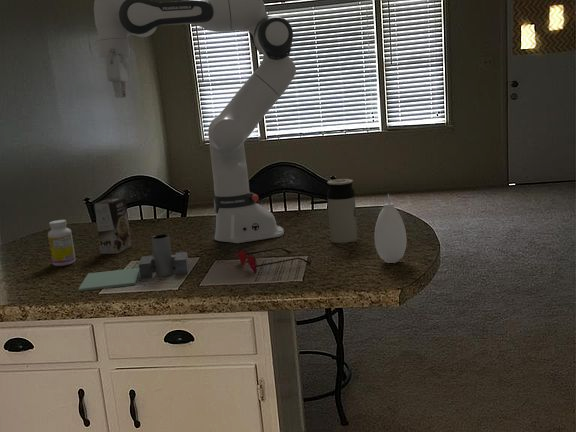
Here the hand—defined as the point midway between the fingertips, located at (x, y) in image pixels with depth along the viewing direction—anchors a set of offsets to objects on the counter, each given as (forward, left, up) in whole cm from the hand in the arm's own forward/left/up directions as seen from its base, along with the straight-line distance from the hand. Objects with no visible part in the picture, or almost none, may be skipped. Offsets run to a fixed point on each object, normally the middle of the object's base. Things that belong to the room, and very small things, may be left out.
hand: (121, 97), depth 185 cm
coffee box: (+8, -1, -47) cm, 48 cm away
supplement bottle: (+22, +9, -47) cm, 53 cm away
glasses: (-38, +35, -48) cm, 70 cm away
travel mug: (-61, +19, -47) cm, 80 cm away
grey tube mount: (-9, +30, -47) cm, 57 cm away
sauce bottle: (-67, +47, -47) cm, 95 cm away
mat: (+5, +33, -47) cm, 58 cm away
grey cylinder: (-9, +33, -47) cm, 58 cm away
